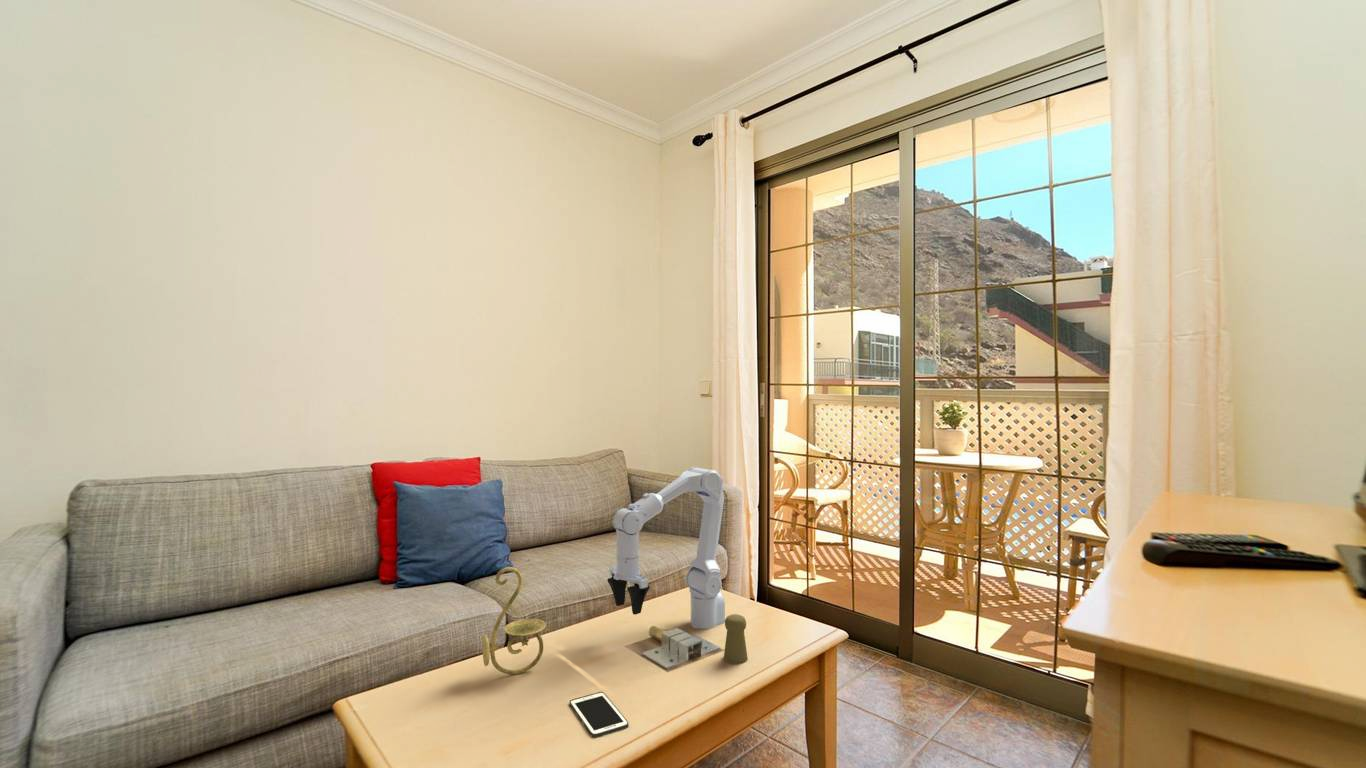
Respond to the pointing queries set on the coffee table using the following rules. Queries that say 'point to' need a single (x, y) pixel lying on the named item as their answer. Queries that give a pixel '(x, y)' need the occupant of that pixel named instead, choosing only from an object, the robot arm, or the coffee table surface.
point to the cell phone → (598, 714)
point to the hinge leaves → (679, 648)
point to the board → (653, 643)
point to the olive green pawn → (735, 640)
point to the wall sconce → (513, 631)
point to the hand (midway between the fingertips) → (628, 609)
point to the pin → (656, 633)
